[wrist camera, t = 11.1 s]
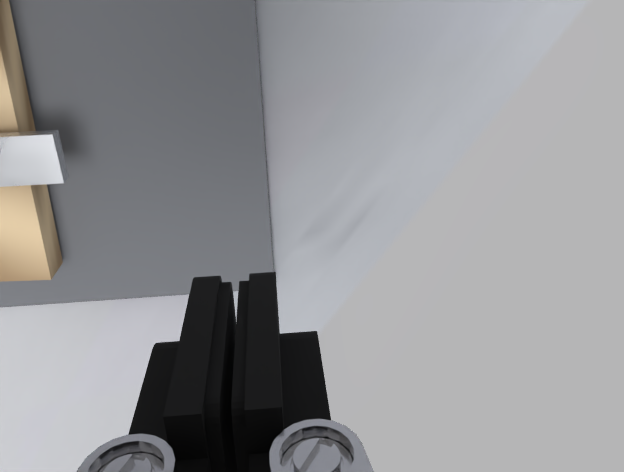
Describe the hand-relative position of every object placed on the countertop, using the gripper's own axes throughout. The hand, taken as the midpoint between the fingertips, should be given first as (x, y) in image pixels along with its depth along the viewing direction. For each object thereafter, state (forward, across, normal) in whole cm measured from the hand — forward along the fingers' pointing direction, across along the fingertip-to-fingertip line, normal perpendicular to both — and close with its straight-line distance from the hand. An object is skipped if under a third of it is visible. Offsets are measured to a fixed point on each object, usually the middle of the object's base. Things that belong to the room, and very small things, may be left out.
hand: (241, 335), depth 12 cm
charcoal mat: (+21, +9, +1) cm, 23 cm away
